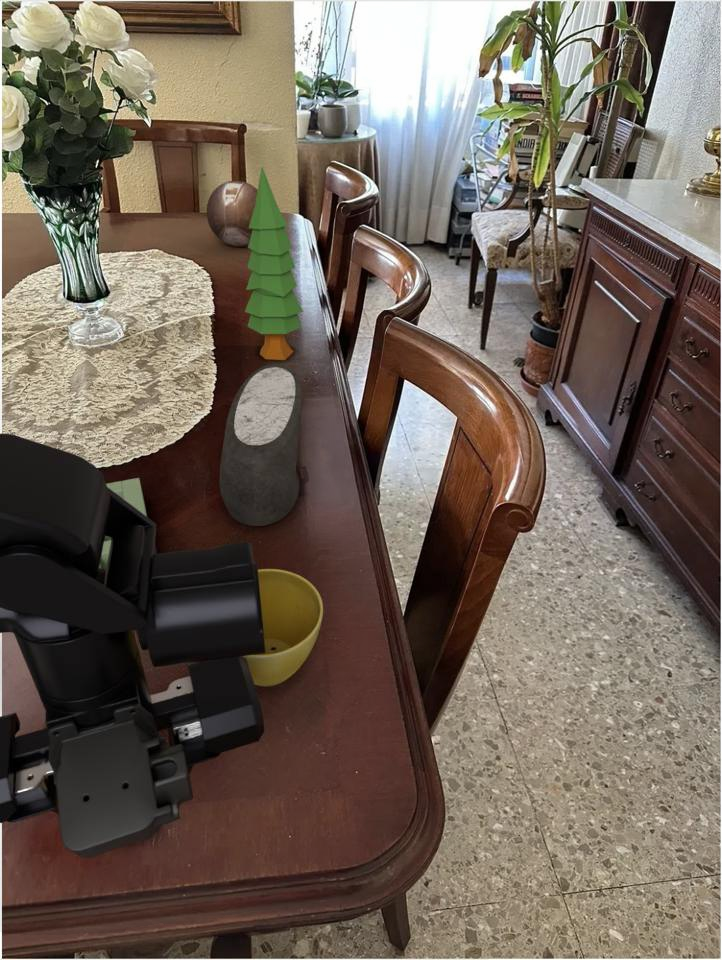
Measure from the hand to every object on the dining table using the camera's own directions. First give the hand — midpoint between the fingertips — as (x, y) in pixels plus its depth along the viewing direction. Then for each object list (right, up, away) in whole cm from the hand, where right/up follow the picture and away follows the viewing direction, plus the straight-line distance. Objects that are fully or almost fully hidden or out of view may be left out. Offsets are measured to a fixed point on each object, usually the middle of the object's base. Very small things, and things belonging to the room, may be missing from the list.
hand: (133, 803), depth 47 cm
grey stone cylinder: (+4, +24, +39) cm, 46 cm away
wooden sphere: (-14, +82, +119) cm, 145 cm away
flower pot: (+8, +6, +13) cm, 17 cm away
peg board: (-10, +15, +24) cm, 30 cm away
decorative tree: (+1, +45, +68) cm, 82 cm away
